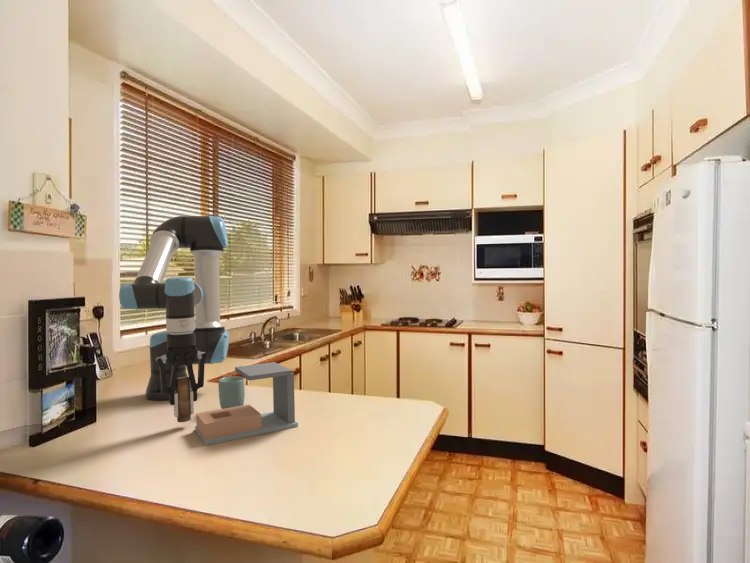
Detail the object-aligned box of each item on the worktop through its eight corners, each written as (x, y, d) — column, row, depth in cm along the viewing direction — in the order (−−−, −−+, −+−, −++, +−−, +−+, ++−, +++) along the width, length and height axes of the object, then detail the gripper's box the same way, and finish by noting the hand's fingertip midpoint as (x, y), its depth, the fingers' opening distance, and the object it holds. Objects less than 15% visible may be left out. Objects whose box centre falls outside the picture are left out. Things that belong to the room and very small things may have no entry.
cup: (237, 414, 143) (236, 382, 142) (214, 413, 144) (213, 381, 144) (249, 407, 150) (248, 376, 150) (227, 406, 152) (226, 375, 152)
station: (195, 429, 130) (193, 372, 130) (280, 413, 143) (279, 361, 143) (206, 445, 118) (204, 382, 118) (297, 426, 131) (296, 369, 131)
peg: (176, 419, 132) (174, 378, 132) (189, 417, 134) (188, 376, 134) (178, 423, 129) (176, 380, 129) (192, 420, 131) (190, 378, 131)
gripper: (150, 337, 123) (153, 424, 124) (214, 331, 132) (216, 412, 133) (147, 333, 129) (150, 415, 131) (208, 328, 138) (210, 405, 139)
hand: (183, 414), depth 132 cm, fingers closed on peg, 3 cm apart
